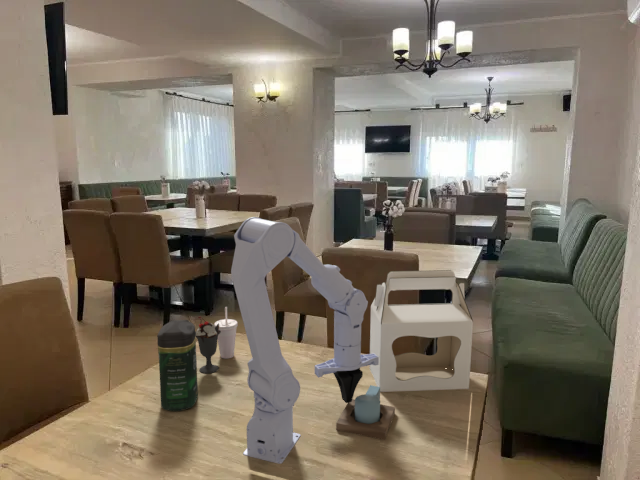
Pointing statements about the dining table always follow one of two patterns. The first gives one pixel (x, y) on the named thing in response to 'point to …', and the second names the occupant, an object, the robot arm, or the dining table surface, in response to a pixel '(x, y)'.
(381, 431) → the holder
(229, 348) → the smoothie
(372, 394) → the light blue piece
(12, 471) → the dining table surface
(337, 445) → the dining table surface
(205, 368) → the sundae
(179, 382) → the coffee jar
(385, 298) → the gable box
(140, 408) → the dining table surface
